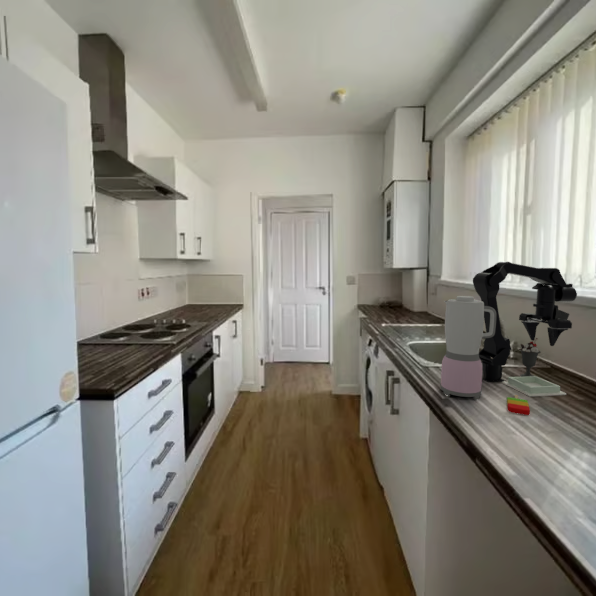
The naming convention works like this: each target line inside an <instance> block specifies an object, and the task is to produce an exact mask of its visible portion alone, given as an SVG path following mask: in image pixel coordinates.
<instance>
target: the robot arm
mask: <svg viewBox="0 0 596 596" xmlns="http://www.w3.org/2000/svg"><path fill="white" fill-rule="evenodd" d="M560 271H561V270H560V269H559V268H557V267H535V266H529V265H524V264H519V263H514V262H510V261H498V262H496V263H495V264H494V265H491V266H490V267H488V268H486V269H484V270H483V271H480V272H479V273H476V274H475V275H474V277H473V278H472V284H473V287H474V290H475V292H476V294H477V295H478V296H479V298H480V301H483V303H484V306H489V307H492V308H494V309H495V311H496V328H495V335H494V336H493V337H491V338H484V341H483V348H482V349H481V350H479V358H480V360H481V363H482V370H483V371H485V372H486V378H485V379H482V380H483V381H485V382H504V381H505V379H504V378H503V366H506V364H507V361H508V359H509V356H510V355H511V351H512V350H513V349H512V347H511V340H510V338H508V337H504V335H503V333H502V332H503V331H502V325H501V321H500V313H499V308H498V301H497V295H498V293H499V291H500V283H502V282H503V281H504V280H506V278H507V276H508V274H509V275H515V276H519V277H525V278H529V279H531V280H532V281H534V282H536V284H535V285H533V286H532V287H531V289H532V290H536V300H535V303H533V304H532V307H535V313H532V312H521V313H520V314H519V316H518V317H519V318H518V320H519V321H520V323H521V324H522V325H523V326H524V328H525V330H526V331H527V334H528V336H529V339H530V340H531V342H532V341H533V342H535V340H536V333H537V327H538V326H539V325H540V324H541V323H543V324H547V325H548V327H547V333H548V340H549V341H548V342H549V345H550V347H554V346H555V344H556V343H557V341H558V339H559V337H560V336H561V334H562V333H564V331H568V330H569V329H572V328H573V327H572V326H573V322H572V321H571V320H570V319H569V316H570V313H569V312H565V311H563V310H561V309H559V306H558V304H556V302H559V303H560V302H561V303H563V302H564V303H565V302H567V303H568V302H569V303H571V302H574V301H575V300H576V298H577V297H578V296H577V295H578V292H577V290H576V289H575V288H574V287H573V283H567V282H566V281H565V279H564V278H563V276H562V275H563V274H561V272H560ZM484 327H485V333H488V332H489V328H490V312H486V311H484Z"/></svg>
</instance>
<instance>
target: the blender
mask: <svg viewBox="0 0 596 596" xmlns="http://www.w3.org/2000/svg"><path fill="white" fill-rule="evenodd" d="M443 302H444V303H445V314H444V338H445V346H446V351H445V355H444V356H443V357H442V361H441V370H440V371H441V373H440V385H439V386H440V387H439V388H440V390H441V391H442V392H443V395H444V394H446V395H448V396H450V397H451V396H457V397H463V398H473V400H475V401H476V400H479V399H480V396H481V395H482V382H483V381H482V380H483V379H485V378H486V372H485V371H483V370H482V363H481V360H480V358H479V352H480V347H481V343H482V340H485V338H491V337H493V336H494V335H495V328H496V311H495V309H494V308H492V307H489V306H484V303H483V301H481V300H477V299H475V297H474V296H472V295H457V296H456V299H455V298H451V299H448V300H443ZM484 311H486V312H490V328H489V332H488V333H486V332H484V327H485V321H484Z"/></svg>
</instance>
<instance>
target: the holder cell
mask: <svg viewBox="0 0 596 596" xmlns="http://www.w3.org/2000/svg"><path fill="white" fill-rule="evenodd" d="M501 382H502V383H501V384H503V385H506V386H508V387H509V388H511V389H514V390H516V391H518V392H519V393H522V394H524V395H526V396H527V397H551V396H567V393H566V392H565V391H562V390H561V386H560V385H559V384H556V383H553V382H551V381H548V380H546V379H544V378H542V377H540V376H539V377H538V376H537V375H533V376H524V377H521V376H508V377H507V381H505V380H504V381H501Z"/></svg>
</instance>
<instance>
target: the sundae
mask: <svg viewBox="0 0 596 596" xmlns="http://www.w3.org/2000/svg"><path fill="white" fill-rule="evenodd" d="M538 340H539V338H537V337H535V340H534V341H532V340H531V341H529V342H527V343H525V344H522V343H520V347H521V348H519V349H518V350H519V351H520V352H521V362H522V365H523V366H524V367H525V368H526V372H525V373H522V374H520V375H519V377H524V376H534V375H532V373H531V369H532V368H533V367H535V365H536V363H537V359H538V356H539V354H541V351H540V350H539V348H538V347H537V346H538V345H537V344H536V343H534V342H536V341H538Z"/></svg>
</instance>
